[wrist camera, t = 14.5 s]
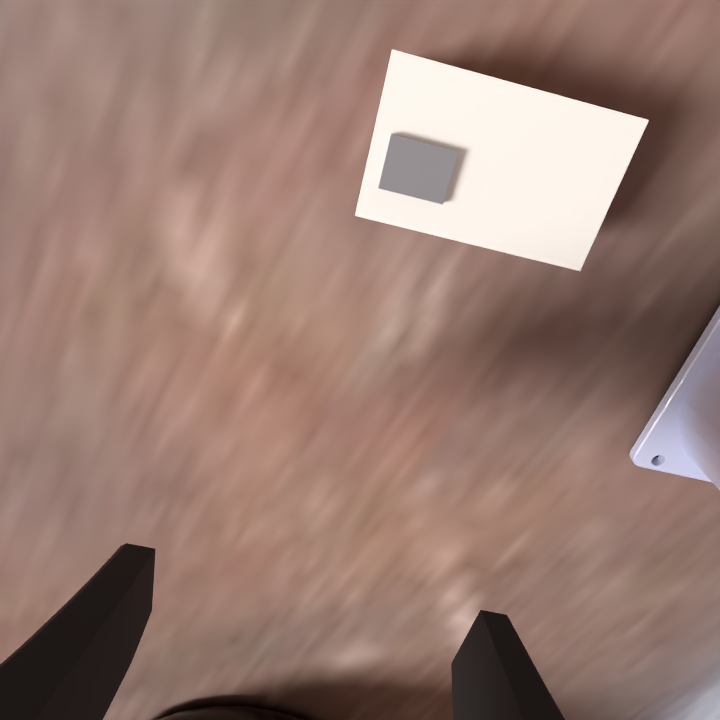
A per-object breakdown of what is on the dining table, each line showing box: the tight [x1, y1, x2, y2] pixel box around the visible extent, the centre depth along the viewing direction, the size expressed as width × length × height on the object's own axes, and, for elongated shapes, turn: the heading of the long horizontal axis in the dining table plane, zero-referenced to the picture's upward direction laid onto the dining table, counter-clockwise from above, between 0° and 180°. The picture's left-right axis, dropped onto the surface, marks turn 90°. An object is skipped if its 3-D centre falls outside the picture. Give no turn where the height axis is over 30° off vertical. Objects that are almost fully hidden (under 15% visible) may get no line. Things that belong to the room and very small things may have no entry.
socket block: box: [355, 50, 649, 271], centre depth 13 cm, size 6×4×4 cm, turn 77°
